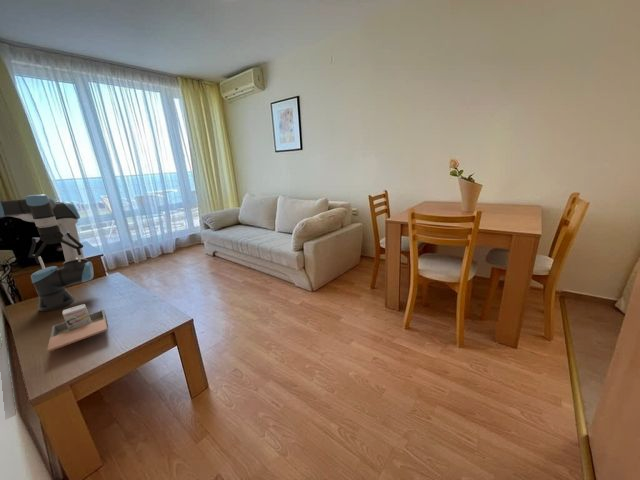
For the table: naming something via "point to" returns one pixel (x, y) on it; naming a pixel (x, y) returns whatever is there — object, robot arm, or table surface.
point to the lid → (76, 334)
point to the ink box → (76, 317)
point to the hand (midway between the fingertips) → (62, 264)
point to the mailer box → (94, 318)
